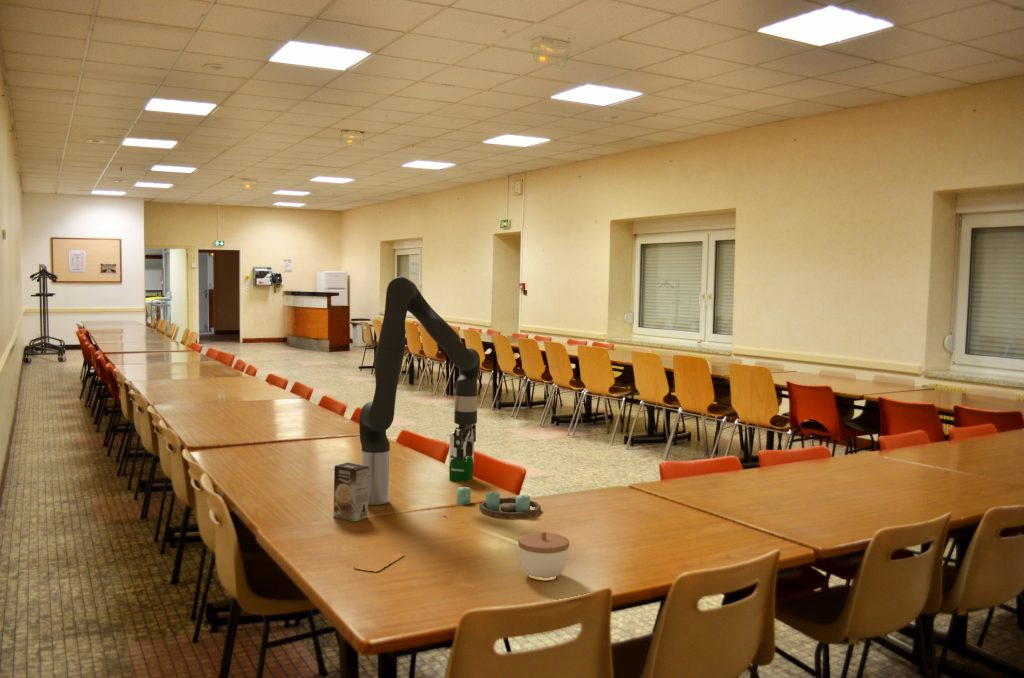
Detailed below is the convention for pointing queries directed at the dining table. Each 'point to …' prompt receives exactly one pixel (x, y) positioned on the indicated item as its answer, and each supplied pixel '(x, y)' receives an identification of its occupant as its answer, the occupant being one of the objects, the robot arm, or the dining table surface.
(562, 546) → the lidded bowl
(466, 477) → the milk carton
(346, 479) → the coffee box
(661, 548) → the dining table surface
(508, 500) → the ring tray
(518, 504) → the bead
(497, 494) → the bead
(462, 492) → the bead
